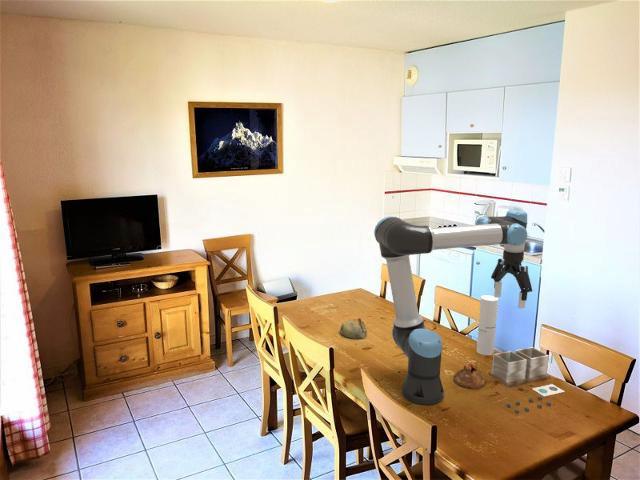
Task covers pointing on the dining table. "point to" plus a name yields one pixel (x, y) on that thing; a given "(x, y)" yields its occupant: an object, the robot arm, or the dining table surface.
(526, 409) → the small grey cubes
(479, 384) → the brown patterned pot lid
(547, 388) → the dot card
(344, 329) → the grey green rock
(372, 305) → the dining table surface
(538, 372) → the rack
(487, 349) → the cylindrical container
